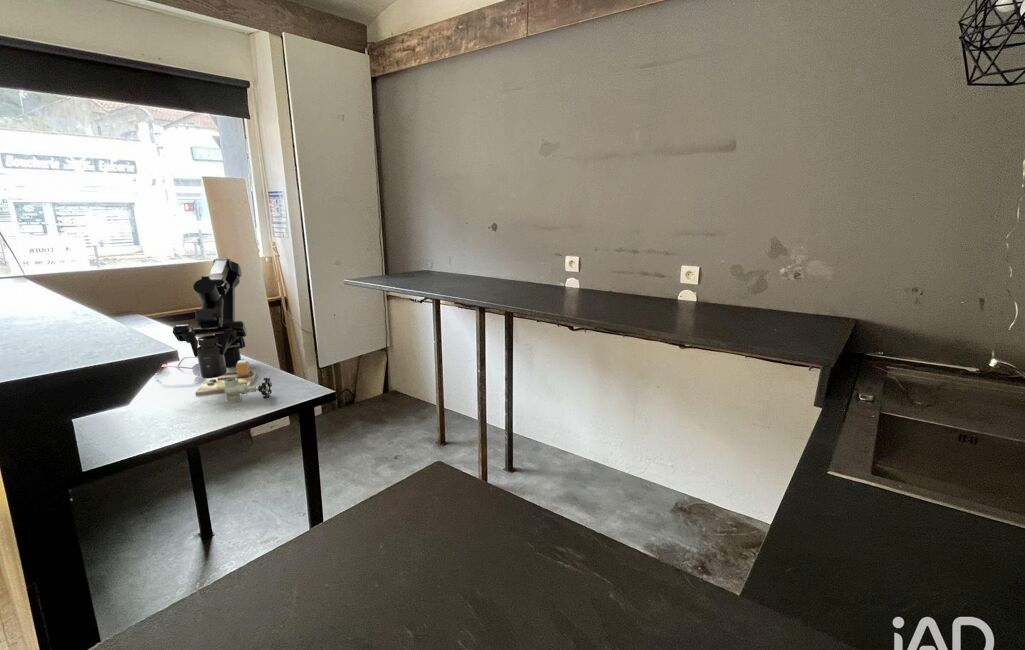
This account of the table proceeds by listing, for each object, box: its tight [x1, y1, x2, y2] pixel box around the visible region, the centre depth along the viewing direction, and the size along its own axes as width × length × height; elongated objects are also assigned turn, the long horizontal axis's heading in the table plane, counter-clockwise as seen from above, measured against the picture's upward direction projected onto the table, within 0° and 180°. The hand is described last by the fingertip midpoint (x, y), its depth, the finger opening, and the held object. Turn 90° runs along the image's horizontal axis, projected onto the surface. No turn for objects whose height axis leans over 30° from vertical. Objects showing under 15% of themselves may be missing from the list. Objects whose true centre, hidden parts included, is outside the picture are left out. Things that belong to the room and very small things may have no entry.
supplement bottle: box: [196, 334, 228, 380], centre depth 147 cm, size 7×7×12 cm
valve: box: [224, 377, 273, 403], centre depth 143 cm, size 7×7×12 cm
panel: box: [194, 370, 258, 397], centre depth 155 cm, size 16×14×2 cm
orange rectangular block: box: [235, 359, 251, 376], centre depth 160 cm, size 3×3×5 cm
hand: (209, 355), depth 145 cm, fingers closed on supplement bottle, 7 cm apart
